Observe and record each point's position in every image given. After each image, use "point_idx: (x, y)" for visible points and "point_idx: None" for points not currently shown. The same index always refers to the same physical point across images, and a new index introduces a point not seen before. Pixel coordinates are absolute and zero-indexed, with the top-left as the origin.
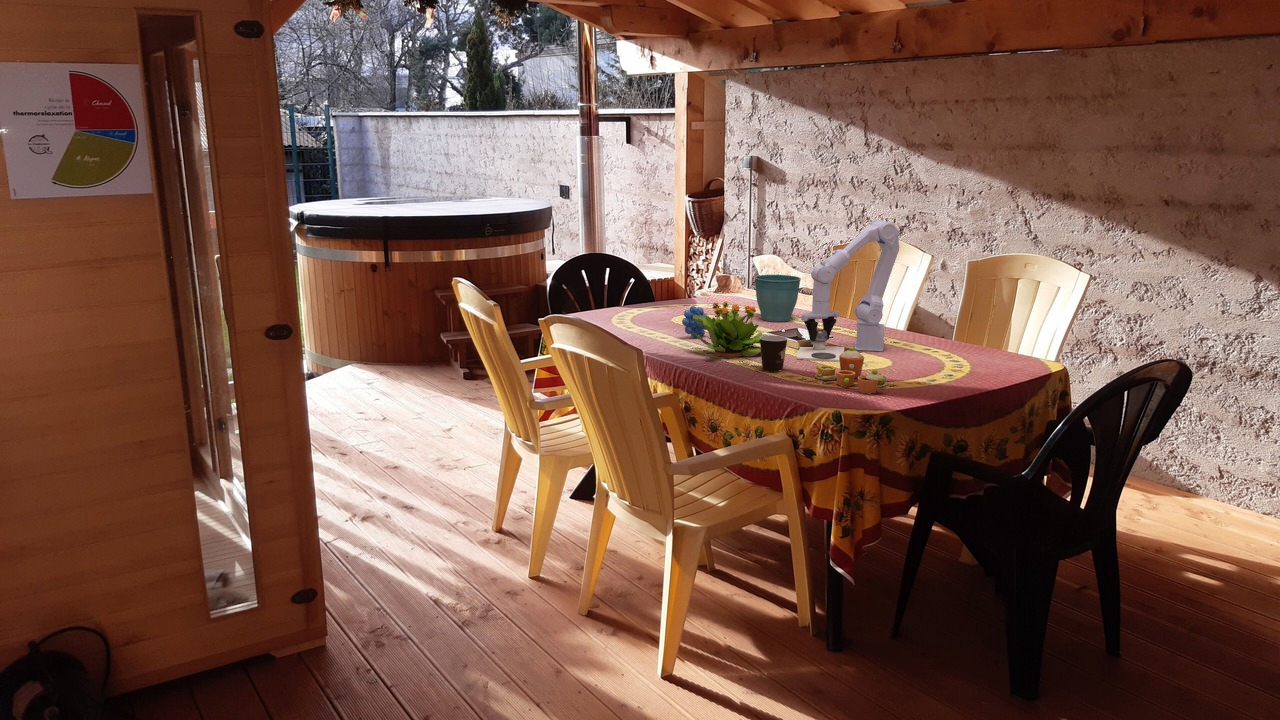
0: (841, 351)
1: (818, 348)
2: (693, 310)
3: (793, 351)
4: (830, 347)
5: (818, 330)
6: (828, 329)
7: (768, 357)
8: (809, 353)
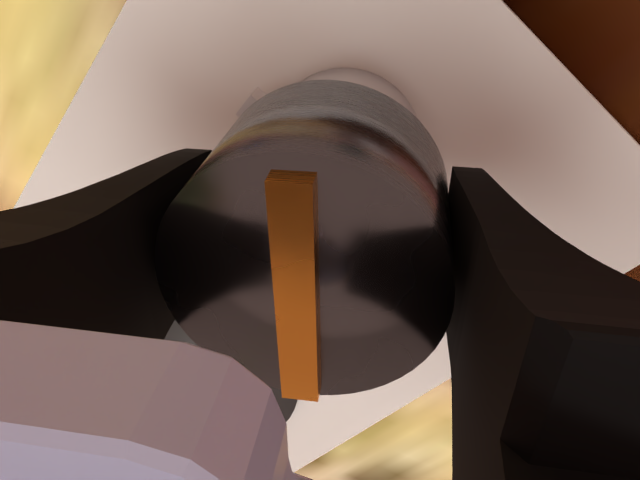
0: None
1: None
2: None
3: (43, 12)
4: (535, 154)
5: (270, 288)
6: (453, 372)
7: None
8: None
